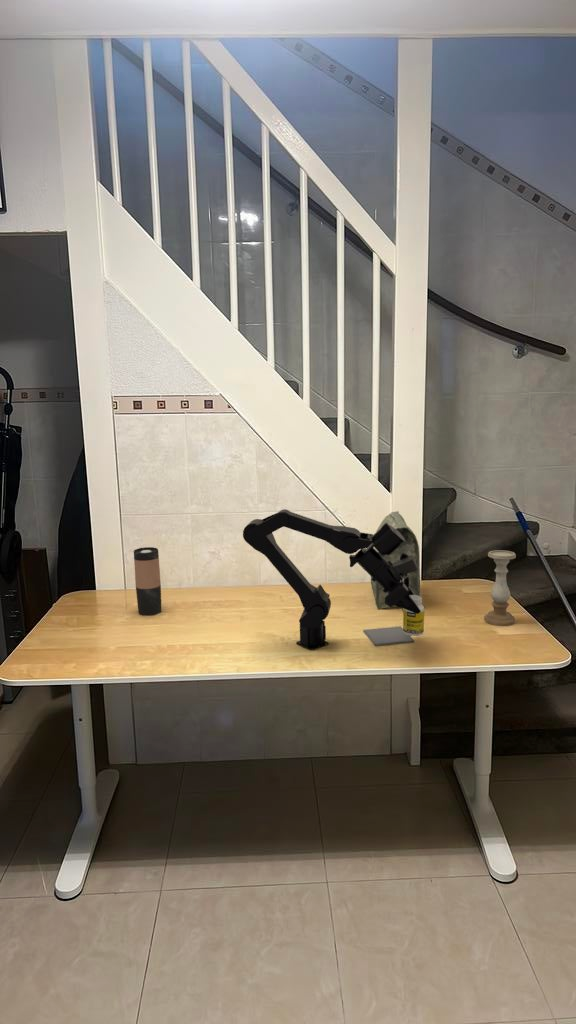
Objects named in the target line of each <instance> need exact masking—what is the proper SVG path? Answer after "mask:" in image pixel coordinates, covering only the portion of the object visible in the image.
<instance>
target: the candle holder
mask: <svg viewBox="0 0 576 1024" xmlns="http://www.w3.org/2000/svg"><path fill="white" fill-rule="evenodd" d="M487 556H488V557H489V558H490V559H493V562H494V563H495V565H496V567H495V569H494V570H493V571H494V572H495V583H494V585H493V587H492V589H491V591H490V597H491V600H493V601H492V602H491V606H492V607H493V610H490V611H488V612H487V613H486V614H485V615H484V616H483V620H484V622H485V623H487V624H490V625H494V626H498V627H499V626H502V627H504V626H505V627H507V626H512V625H514V624H515V623H516V622H517V621H516V620H517V619H516V617H515V616H513V614H512V613H511V612H509V611H508V610H507V609H508V607H509V605H510V604H509V603H508V602H509V600H510V598H511V592H510V589H509V587H508V584H507V574H508V573H509V570H508V568H507V566H508V564H509V563H510V560H514V559H516V556H517V555H516V553H515V552H514V551H510V550H505V549H504V550H503V549H502V550H500V549H499V550H498V549H497V550H495V549H494V550H490V551H489V552H487Z"/></svg>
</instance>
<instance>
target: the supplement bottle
mask: <svg viewBox="0 0 576 1024" xmlns="http://www.w3.org/2000/svg"><path fill="white" fill-rule="evenodd" d="M410 596H411V598H412V599H413V601H414V602H415V603H416V605H417V606H418V608H419V609H420V610H421V612H420V613H418V614H417V613H414V612H411V611H409V610H406V609H403V608H402V609H403V611H402V612H403V614H402V617H403V618H402V628H403V632H404V633H405V634H407V635H410V636H411V637H417V636H421V635H423V634H424V632H425V631H424V630H425V607H424V604H422V603H423V602H422V601H423V598H422V596H421V595H420V596H418V595H410Z"/></svg>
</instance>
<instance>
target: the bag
mask: <svg viewBox="0 0 576 1024" xmlns="http://www.w3.org/2000/svg"><path fill="white" fill-rule="evenodd" d="M385 522H387V523H388V524H389V525H391V526H392V527H393V528H394V529H397V530H398V531H399V532H400V534H401V535H402V536H403V537H404V539H405V541H404V542H403V543H402V544H401V545H400V546H399V547H398V548H397V549H396V550H395V551H393V552H392V553H391V554H390V555H387V554H386V555H382V554H381V553H380V552H379V551H378V550H377V549H376V548H375V547H373V548H374V549H375V550H376V551H377V552H378V553H379V554H380V555H381V556H382V557H383V558H384V559H385V560H386V561H387V560H388V561H389V560H390V561H391V562H392V563H395V562H397V560H400V554H402V553H404V552H405V553H407V554H408V555H409V556H410V555H413V557H414V559H415V561H416V564H417V566H418V567H417V568H418V570H416V571H414V572H410V573H408V575H407V576H405V575H404V576H403V577H402V578H403V579H404V580H405V579H406V578H407V577H408V576H409V586H410V588H411V590H412V591H413V593H414V595H418V596H421V572H420V571H421V569H420V568H421V567H420V546H419V542H418V539H417V535H416V534H415V533H414V532H413V530H412V528H410V527H409V526H408V524H407V522H406V520H405V519H404V517H403V515H401V514H400V512H399V510H397V511H391V512H390V513H388V515H386V516H385V517H384V518H383V520H382V521H381V523H380V524H379V526H378V528H377V529H376V531H375V533H376V532H377V531H378V530H379V529H380V528H381V527H382V525H383V524H384V523H385ZM370 585H371V590H372V592H373V596H374V601H375V606H376V608H377V609H385V608H386V609H387V608H390V607H389V606H388V605H387V604H386V603H385V592H384V591H383V588H382V587H381V586H380V585H379V584H378V583H377V582H376V581H375V582H374V581H373V580H372V577H371V576H370ZM388 591H389V590H388ZM388 591H387V592H388ZM393 607H396V606H395V605H394V606H392V607H391V608H393Z"/></svg>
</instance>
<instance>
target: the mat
mask: <svg viewBox="0 0 576 1024" xmlns="http://www.w3.org/2000/svg"><path fill="white" fill-rule="evenodd" d="M363 633H364V635H366V636H367V638H368V640H370V641H371V643H372V644H373V645H374V646H375V647H380V646H392V645H399V644H411V643H415V639H414V638H413V636H410V635H407V634H405V633H404V632H403V626H402V627H401V626H400V625H399V626H392V627H391V626H390V627H379V628H378V627H377V628H370V629H363Z"/></svg>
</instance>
